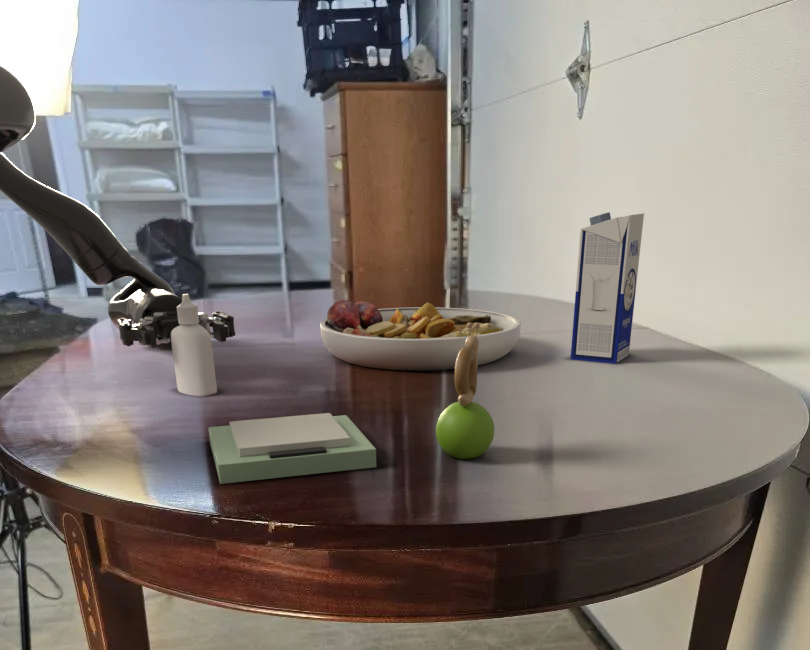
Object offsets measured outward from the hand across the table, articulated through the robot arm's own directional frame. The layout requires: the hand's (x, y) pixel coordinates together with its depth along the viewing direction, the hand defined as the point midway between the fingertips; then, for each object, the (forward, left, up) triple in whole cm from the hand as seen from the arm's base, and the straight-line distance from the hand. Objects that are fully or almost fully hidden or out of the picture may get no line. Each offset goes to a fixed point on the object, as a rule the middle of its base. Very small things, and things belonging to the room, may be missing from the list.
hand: (188, 336), depth 95 cm
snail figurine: (+23, -35, -7) cm, 42 cm away
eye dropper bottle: (0, -1, -7) cm, 7 cm away
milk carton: (+58, +1, -7) cm, 59 cm away
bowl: (+34, +13, -7) cm, 37 cm away
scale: (+7, -30, -7) cm, 31 cm away
